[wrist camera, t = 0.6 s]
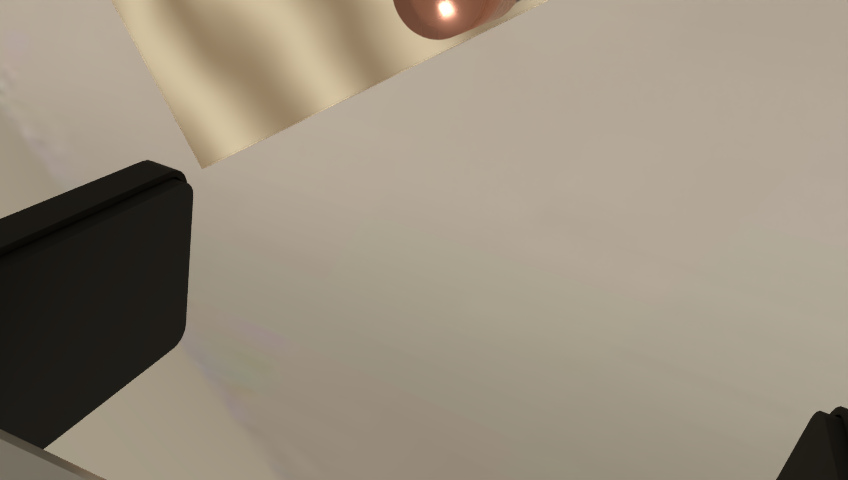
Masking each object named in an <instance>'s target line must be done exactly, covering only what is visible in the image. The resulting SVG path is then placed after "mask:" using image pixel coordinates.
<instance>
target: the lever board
mask: <svg viewBox="0 0 848 480" xmlns="http://www.w3.org/2000/svg"><path fill="white" fill-rule="evenodd" d="M546 1H548V0H522V1H520V2H518V3H516V4H514V6H513V7H512V8H511V9H510V10H509V11H508V13H506V14H505V15H504V16H502V17H500V18H499V19H496V20H494V21H491V22H489V23H486V24H484V25H481V26H479V27H476V28H474V29H471V30H469V31H467V32H464V33H462V34H459V35H457V36H454V37H452V38H448V39H444V40H432V39H427V38H424V37H422V36H420V35H418V34H416V33H414V32H413V31H411V30H410V29H409V28H408V27H407V26H406V25H405V24H404V23H403V21H402V20H401V18H400V17H399V15H398V13H397V11H396V8H395V6H394V2H393V0H112V2H113V4H114V6H115V8H116V10H117V12H118V13H119V15H120V17H121V19H122V21H123V23H124V25H125V26H126V28H127V30H128V32H129V34H130V36H131V38H132V39H133V41H134V43H135V45H136V47H137V49H138V51H139V52H140V54H141V56H142V58H143V60H144V62H145V64H146V66H147V67H148V69H149V71H150V73H151V75H152V77H153V79H154V80H155V82H156V84H157V86H158V88H159V90H160V92H161V93H162V95H163V97H164V99H165V101H166V103H167V105H168V106H169V108H170V110H171V112H172V114H173V116H174V118H175V119H176V121H177V123H178V125H179V127H180V129H181V131H182V132H183V134H184V136H185V138H186V140H187V142H188V144H189V145H190V147H191V149H192V151H193V153H194V155H195V157H196V158H197V160H198V162H199V164H200V166H201V168H202V169H203V168H205V167H207V166H210V165H212V164H214V163H216V162H218V161H220V160H222V159H224V158H226V157H228V156H230V155H233V154H235V153H237V152H239V151H241V150H243V149H245V148H247V147H249V146H251V145H253V144H255V143H257V142H259V141H261V140H263V139H265V138H267V137H269V136H271V135H274V134H276V133H278V132H280V131H282V130H284V129H286V128H288V127H290V126H292V125H294V124H296V123H298V122H300V121H302V120H304V119H306V118H308V117H310V116H312V115H314V114H317V113H319V112H321V111H323V110H325V109H327V108H329V107H331V106H333V105H335V104H337V103H339V102H341V101H343V100H345V99H347V98H349V97H351V96H353V95H355V94H358V93H360V92H362V91H364V90H366V89H368V88H370V87H372V86H374V85H376V84H378V83H380V82H382V81H384V80H386V79H388V78H390V77H392V76H394V75H396V74H399V73H401V72H403V71H405V70H407V69H409V68H411V67H413V66H415V65H417V64H419V63H421V62H423V61H425V60H427V59H429V58H431V57H433V56H435V55H437V54H440V53H442V52H444V51H446V50H448V49H450V48H452V47H454V46H456V45H458V44H460V43H462V42H464V41H466V40H468V39H470V38H472V37H474V36H476V35H478V34H481V33H483V32H485V31H487V30H489V29H491V28H493V27H495V26H497V25H499V24H501V23H503V22H505V21H507V20H509V19H511V18H513V17H515V16H517V15H519V14H521V13H524V12H526V11H528V10H530V9H532V8H534V7H536V6H538V5H540V4H542V3H544V2H546Z"/></svg>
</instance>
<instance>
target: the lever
mask: <svg viewBox="0 0 848 480" xmlns="http://www.w3.org/2000/svg"><path fill="white" fill-rule="evenodd" d="M520 1H522V0H393V2H394V6H395V8H396V11H397V13H398V15H399V17H400V18H401V20H402V21H403V23H404V24H405V25H406V26H407V27H408V28H409V29H410V30H411V31H413V32H414V33H416V34H418V35H420V36H422V37H424V38H427V39H432V40H444V39H448V38H452V37H454V36H457V35H459V34H462V33H464V32H467V31H469V30H471V29H474V28H476V27H479V26H481V25H484V24H486V23H489V22H491V21H494V20H496V19H499V18H500V17H502V16H504V15H505V14H506V13H508V11H509V10H510V9H511V8H512V7H513V6H514V4H516V3H518V2H520Z"/></svg>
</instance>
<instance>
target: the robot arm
mask: <svg viewBox="0 0 848 480" xmlns="http://www.w3.org/2000/svg"><path fill="white" fill-rule="evenodd" d="M192 207H193V190H192V187H191V186H190V185H189V184H188V183H187V180H186V178H185V175H184V174H183V173H182V172H181V171H178V170H175V169H173V168H170V167H167V166H164V165H161V164H159V163H156V162H153V161H150V160H146V161H142V162H139V163H137V164H134V165H132V166H129V167H127V168H124V169H122V170H119V171H117V172H115V173H112V174H110V175H107V176H105V177H102V178H100V179H97V180H95V181H92V182H90V183H87V184H85V185H83V186H80V187H78V188H75V189H73V190H70V191H68V192H65V193H63V194H60V195H58V196H55V197H53V198H51V199H48V200H46V201H43V202H41V203H38V204H36V205H33V206H31V207H29V208H26V209H24V210H21V211H19V212H16V213H14V214H11V215H9V216H6V217H4V218H1V219H0V480H106V479H104V478H102V477H100V476H97V475H95V474H93V473H91V472H89V471H87V470H85V469H83V468H81V467H79V466H76V465H74V464H72V463H70V462H68V461H66V460H64V459H62V458H60V457H58V456H55V455H53V454H51V453H49V452H47V451H45V450H43V449H44V448H46V447H47V446H48V445H49V444H51V443H52V442H53V441H55V440H56V439H57V438H58V437H60V436H61V435H62V434H64V433H65V432H66V431H68V430H69V429H70V428H71V427H73V426H74V425H75V424H77V423H78V422H79V421H80V420H82V419H83V418H84V417H85V416H87V415H88V414H90V413H91V412H92V411H93V410H95V409H96V408H97V407H99V406H100V405H101V404H102V403H104V402H105V401H106V400H108V399H109V398H110V397H111V396H113V395H114V394H115V393H116V392H118V391H119V390H120V389H122V388H123V387H124V386H126V385H127V384H128V383H129V382H131V381H132V380H133V379H134V378H136V377H137V376H138V375H140V374H141V373H142V372H144V371H145V370H146V369H147V368H149V367H150V366H151V365H153V364H154V363H155V362H157V361H158V360H159V359H160V358H162V357H163V356H164V355H166V354H167V353H168V352H169V351H171V350H172V349H173V348H174V347H175V346H176V345H177V344H178V343H179V341H180V340H181V338H182V336H183V334H184V331H185V326H186V312H187V294H188V277H189V259H190V242H191V224H192ZM776 480H848V409H847V408H844V407H841V406H840V407H837V408H835V409H834V410H833V411H832V412H831V413H830V414H827V413H825V412H822V411H818V412H816V413H815V414H814V415H813V416H812V418H811V419H810V421H809V423H808V425H807V426H806V428H805V430H804V432H803V433H802V435H801V437H800V439H799V441H798V442H797V444H796V446H795V448H794V449H793V451H792V453H791V455H790V456H789V458H788V460H787V462H786V463H785V465H784V467H783V469H782V471H781V472H780V474H779V476H778V478H777V479H776Z"/></svg>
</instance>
